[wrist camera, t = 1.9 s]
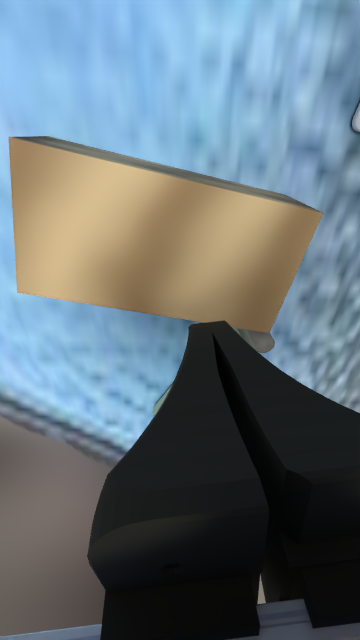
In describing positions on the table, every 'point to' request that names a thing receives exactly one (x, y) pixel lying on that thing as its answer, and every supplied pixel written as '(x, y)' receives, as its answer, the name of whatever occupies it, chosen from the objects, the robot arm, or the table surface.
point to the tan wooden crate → (151, 236)
